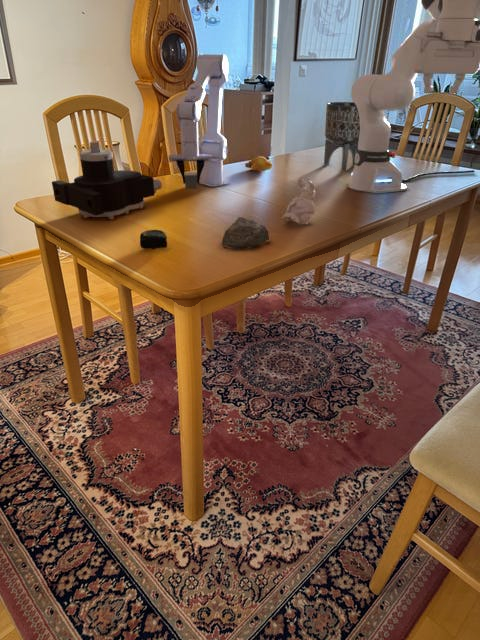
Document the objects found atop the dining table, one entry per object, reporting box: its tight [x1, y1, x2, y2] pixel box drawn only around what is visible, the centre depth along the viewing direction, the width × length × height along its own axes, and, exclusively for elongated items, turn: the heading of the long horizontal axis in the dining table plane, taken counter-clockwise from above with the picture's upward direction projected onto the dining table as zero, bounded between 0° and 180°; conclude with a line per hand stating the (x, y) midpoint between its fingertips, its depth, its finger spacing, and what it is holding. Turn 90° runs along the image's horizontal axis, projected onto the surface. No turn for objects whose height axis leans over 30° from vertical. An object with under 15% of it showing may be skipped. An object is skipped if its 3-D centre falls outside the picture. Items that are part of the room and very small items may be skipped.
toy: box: [244, 155, 273, 172], centre depth 200 cm, size 11×6×15 cm
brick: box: [184, 171, 198, 190], centre depth 157 cm, size 4×4×5 cm
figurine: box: [281, 177, 316, 225], centre depth 135 cm, size 8×15×13 cm, turn 145°
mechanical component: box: [51, 141, 163, 220], centre depth 140 cm, size 22×21×30 cm
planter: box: [323, 101, 360, 172], centre depth 204 cm, size 20×20×26 cm
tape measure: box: [139, 229, 168, 250], centre depth 117 cm, size 7×7×4 cm
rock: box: [221, 216, 270, 250], centre depth 119 cm, size 13×9×6 cm, turn 131°
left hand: (191, 182), depth 158 cm, fingers closed on brick, 4 cm apart
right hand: (440, 93), depth 124 cm, fingers open, 8 cm apart
